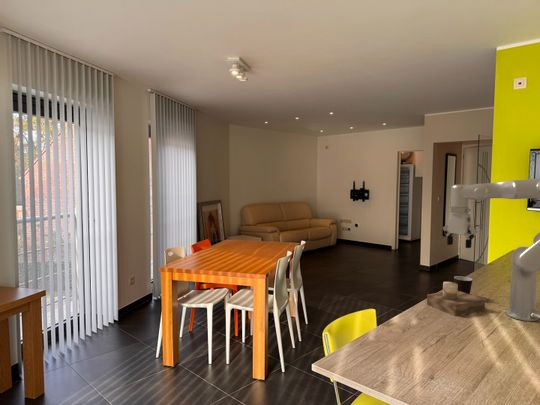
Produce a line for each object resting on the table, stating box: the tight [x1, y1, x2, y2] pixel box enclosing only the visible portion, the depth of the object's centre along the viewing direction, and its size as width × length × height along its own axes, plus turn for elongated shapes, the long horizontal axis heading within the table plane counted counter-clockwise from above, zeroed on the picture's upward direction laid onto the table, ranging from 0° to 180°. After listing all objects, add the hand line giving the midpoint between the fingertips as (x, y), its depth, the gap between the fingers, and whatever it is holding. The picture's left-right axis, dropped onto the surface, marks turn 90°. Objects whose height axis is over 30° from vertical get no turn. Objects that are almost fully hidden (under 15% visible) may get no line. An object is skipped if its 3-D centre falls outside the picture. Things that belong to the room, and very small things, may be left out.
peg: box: [442, 281, 458, 300], centre depth 175 cm, size 6×6×11 cm
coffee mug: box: [453, 275, 473, 295], centre depth 193 cm, size 12×9×10 cm
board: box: [426, 290, 486, 317], centre depth 177 cm, size 16×20×5 cm
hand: (458, 246), depth 175 cm, fingers open, 9 cm apart
